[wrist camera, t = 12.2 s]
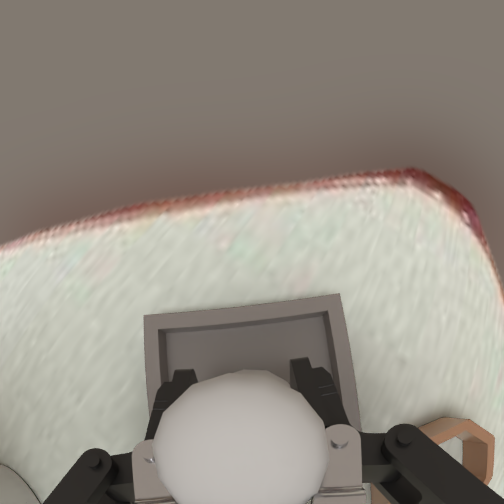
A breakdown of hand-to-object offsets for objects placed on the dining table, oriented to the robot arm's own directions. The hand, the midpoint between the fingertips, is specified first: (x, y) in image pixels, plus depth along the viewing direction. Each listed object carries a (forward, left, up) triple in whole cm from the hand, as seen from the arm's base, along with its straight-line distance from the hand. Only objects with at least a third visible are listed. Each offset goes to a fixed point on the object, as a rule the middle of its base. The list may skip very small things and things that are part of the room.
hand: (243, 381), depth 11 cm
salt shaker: (0, -2, -7) cm, 8 cm away
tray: (0, -2, -8) cm, 9 cm away
